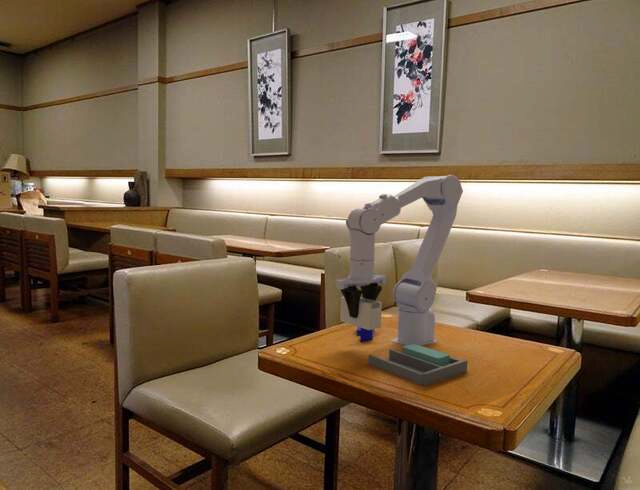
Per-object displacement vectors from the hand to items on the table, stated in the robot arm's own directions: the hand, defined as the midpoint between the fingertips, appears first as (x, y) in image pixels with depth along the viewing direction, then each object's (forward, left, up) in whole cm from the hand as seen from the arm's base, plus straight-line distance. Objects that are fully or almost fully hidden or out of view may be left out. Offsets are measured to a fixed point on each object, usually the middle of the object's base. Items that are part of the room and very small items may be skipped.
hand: (360, 315), depth 115 cm
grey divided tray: (-2, +16, -9) cm, 18 cm away
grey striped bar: (0, 0, -2) cm, 2 cm away
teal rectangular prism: (-5, +16, -8) cm, 19 cm away
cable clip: (-11, -10, -9) cm, 17 cm away
